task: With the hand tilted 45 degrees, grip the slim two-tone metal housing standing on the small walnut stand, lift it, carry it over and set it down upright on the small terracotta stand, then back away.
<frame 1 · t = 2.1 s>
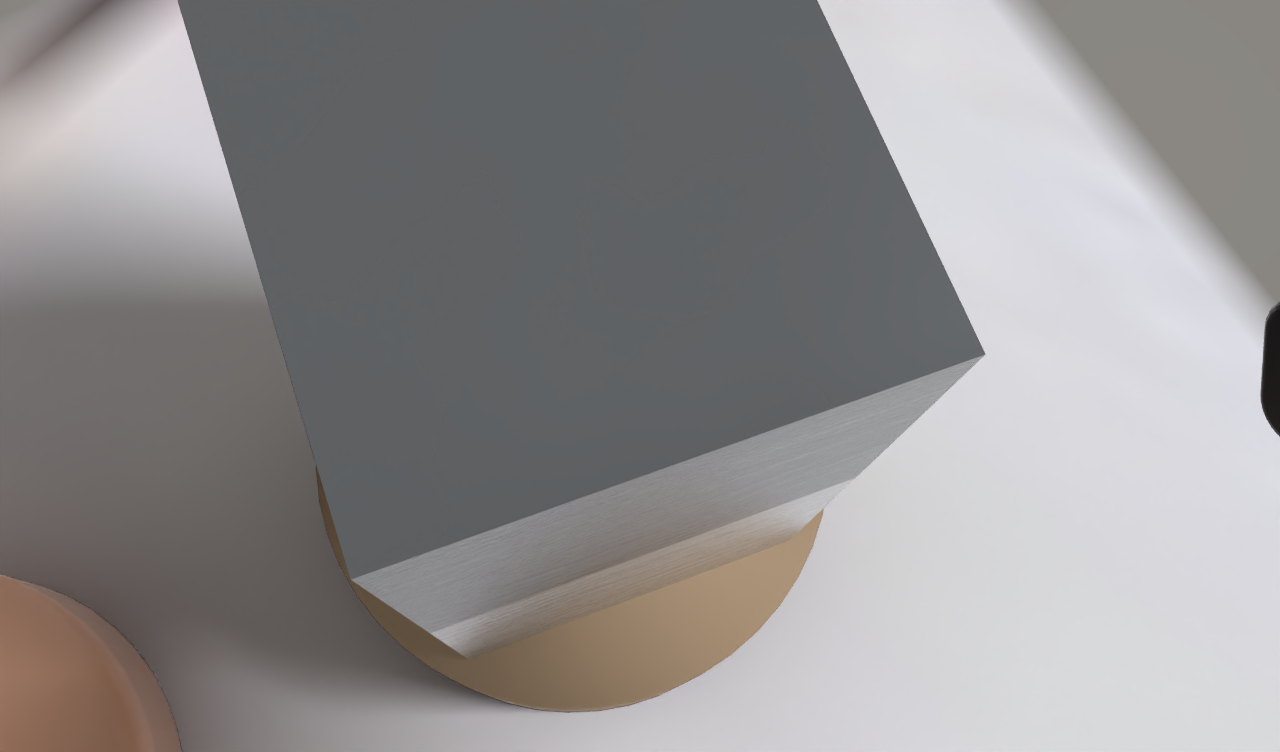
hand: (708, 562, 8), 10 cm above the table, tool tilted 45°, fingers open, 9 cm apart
housing: (575, 442, 16), point 2 cm above the table, touching stand a
stand a: (576, 481, 18), on the table
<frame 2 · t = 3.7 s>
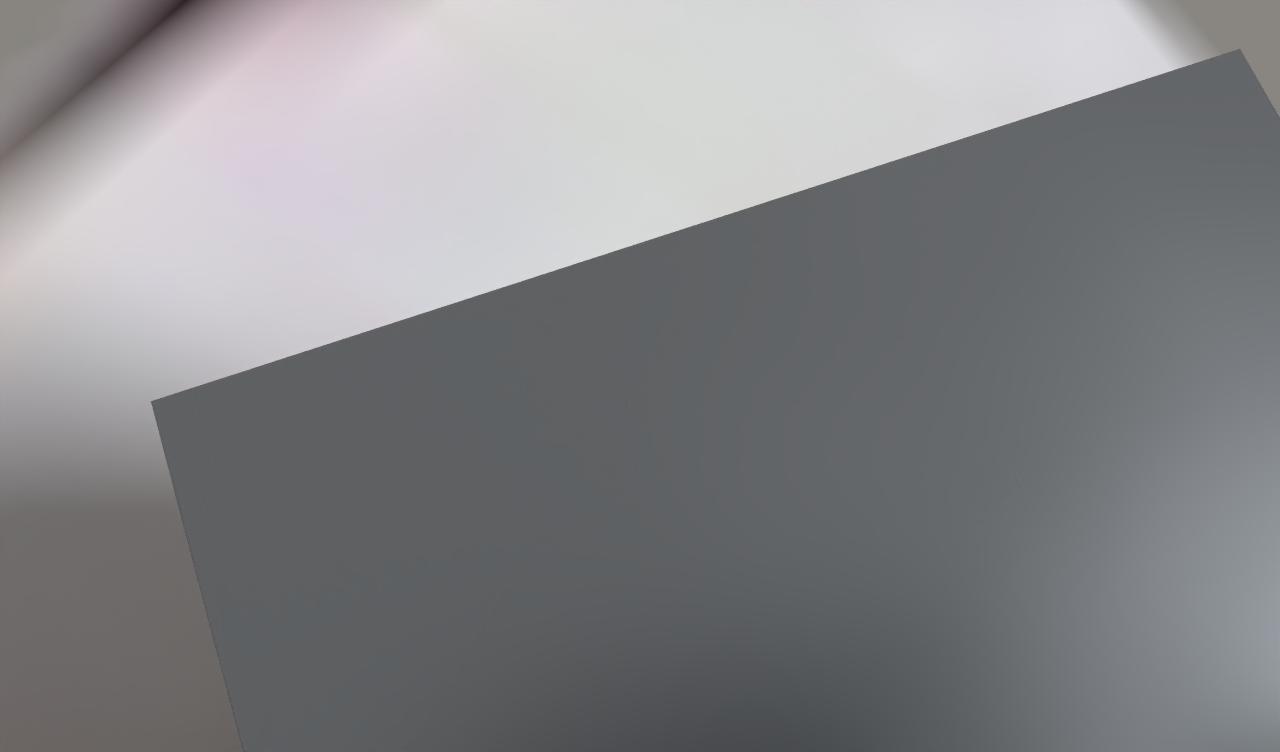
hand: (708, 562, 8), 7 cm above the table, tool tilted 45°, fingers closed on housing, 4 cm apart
housing: (715, 749, 12), point 3 cm above the table, touching gripper, stand a
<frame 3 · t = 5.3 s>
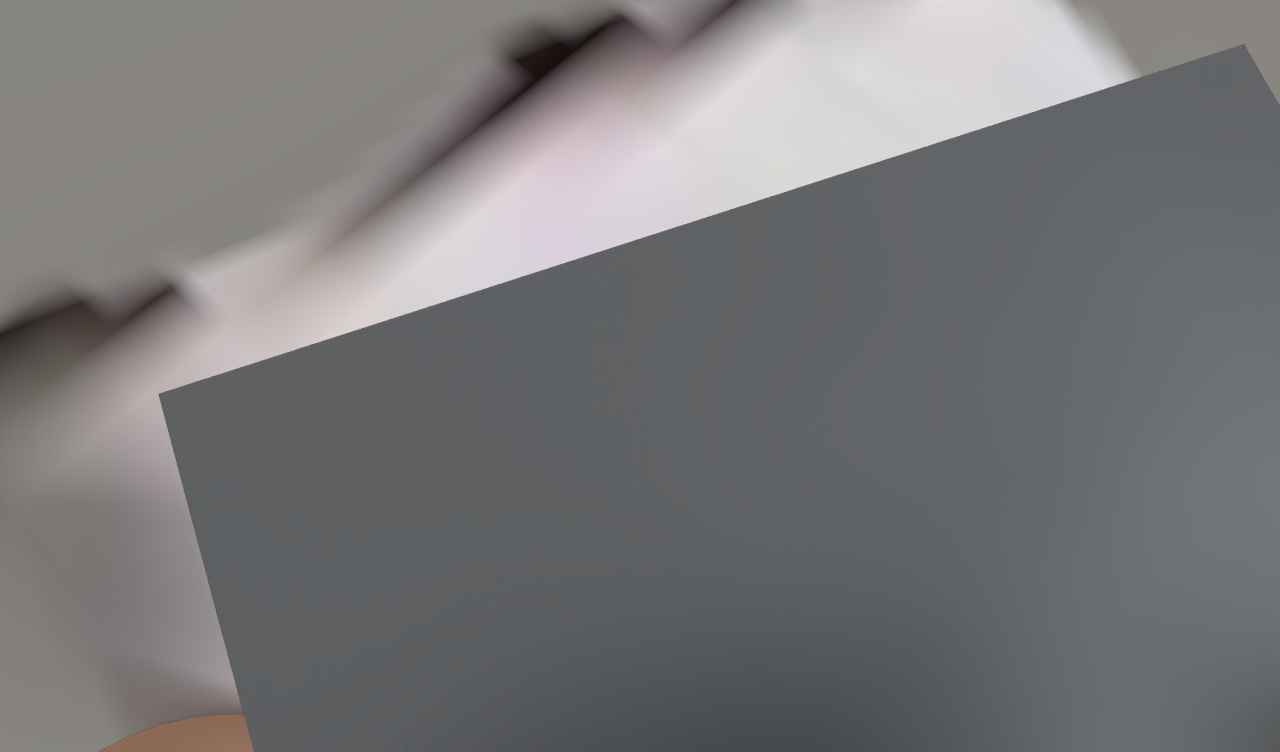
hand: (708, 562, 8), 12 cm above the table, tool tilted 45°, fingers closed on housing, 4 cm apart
housing: (717, 746, 12), point 8 cm above the table, touching gripper
when the fingers open (8 cm above the table, at t = 7.2 s): housing drops 1 cm, resting on stand b.
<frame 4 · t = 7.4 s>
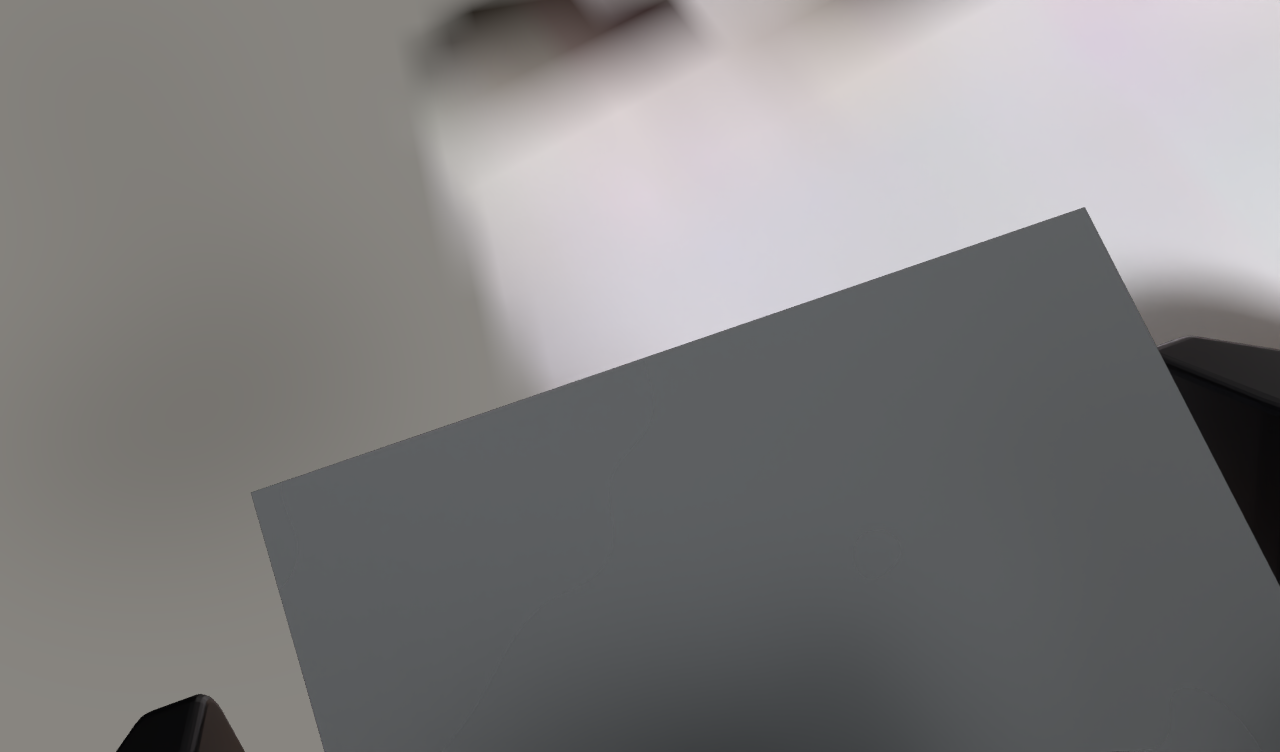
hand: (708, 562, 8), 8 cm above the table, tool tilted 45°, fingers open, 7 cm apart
housing: (701, 748, 13), point 3 cm above the table, touching stand b
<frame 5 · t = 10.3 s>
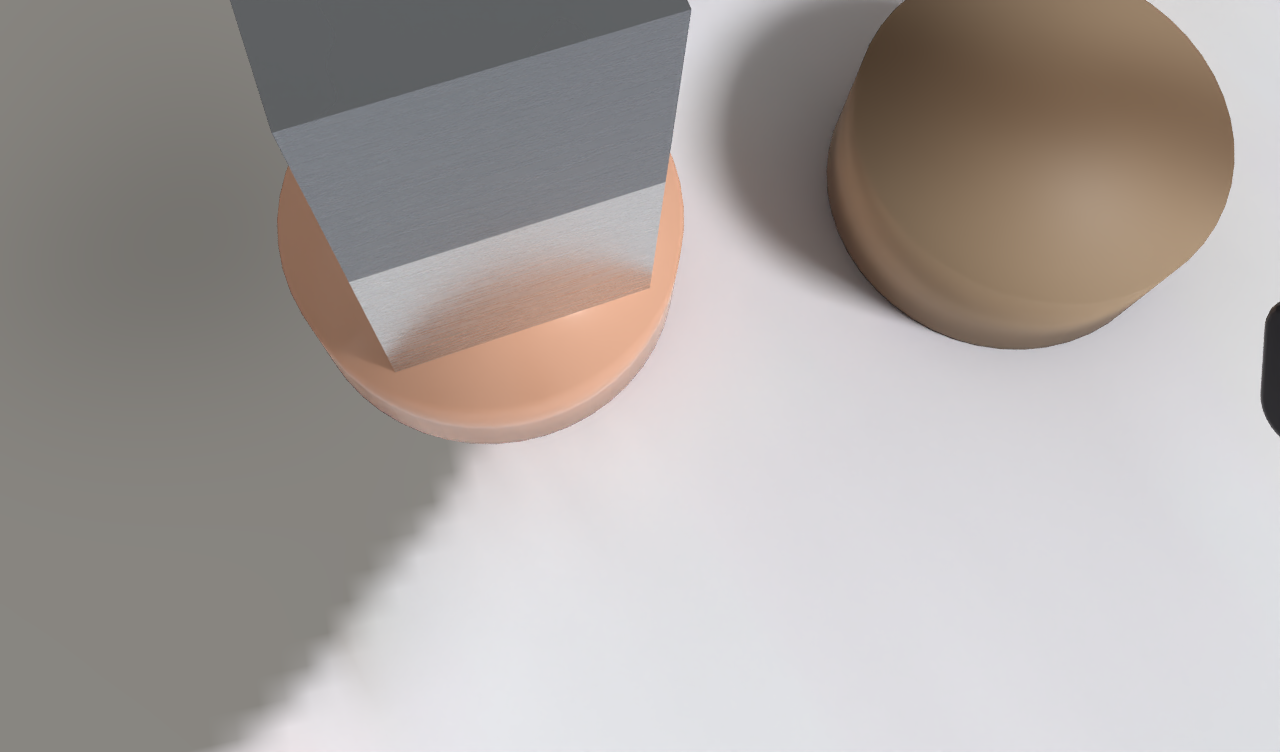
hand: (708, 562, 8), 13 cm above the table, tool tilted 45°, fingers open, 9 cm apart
housing: (482, 214, 20), point 2 cm above the table, touching stand b
stand b: (493, 268, 23), on the table
stand a: (998, 185, 24), on the table
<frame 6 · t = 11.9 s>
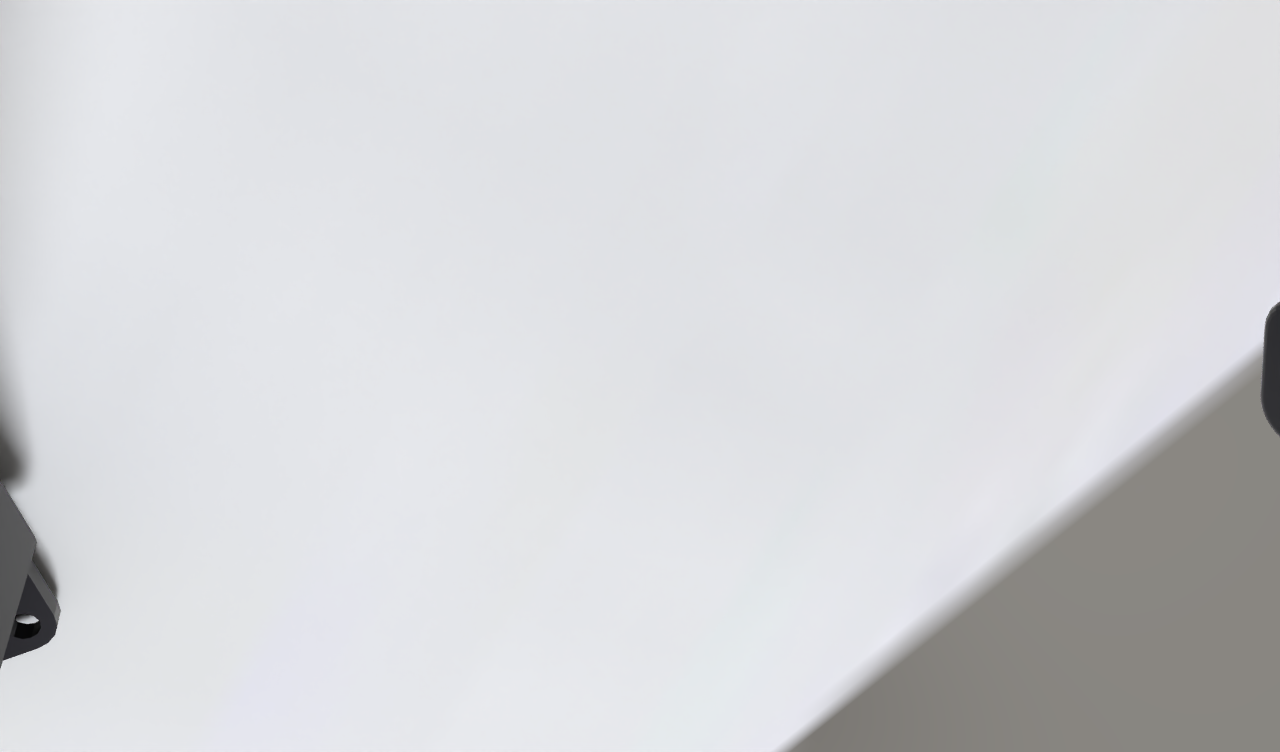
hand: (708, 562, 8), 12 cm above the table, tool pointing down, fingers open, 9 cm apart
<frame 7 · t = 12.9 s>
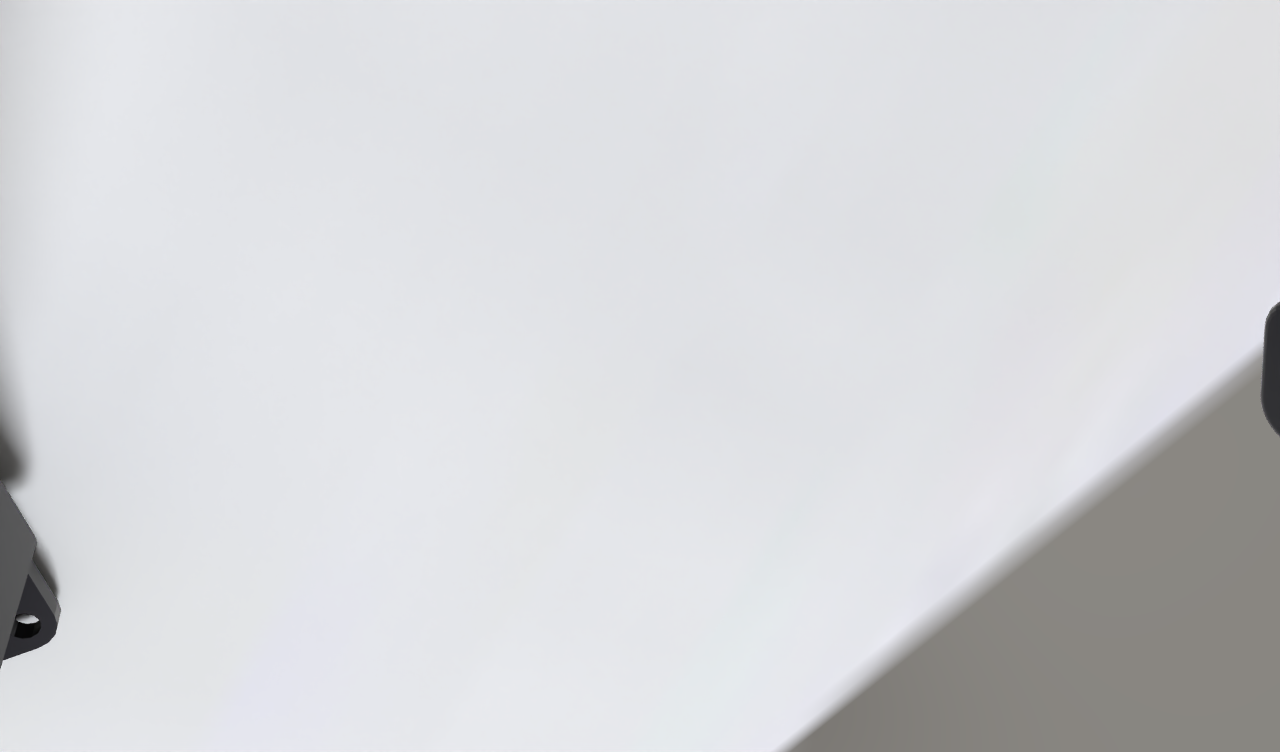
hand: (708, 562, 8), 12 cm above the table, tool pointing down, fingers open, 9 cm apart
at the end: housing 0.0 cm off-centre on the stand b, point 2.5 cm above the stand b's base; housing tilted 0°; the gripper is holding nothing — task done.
